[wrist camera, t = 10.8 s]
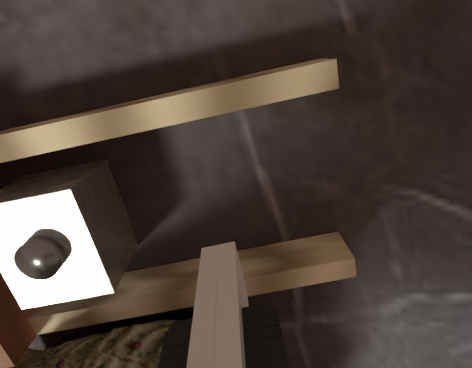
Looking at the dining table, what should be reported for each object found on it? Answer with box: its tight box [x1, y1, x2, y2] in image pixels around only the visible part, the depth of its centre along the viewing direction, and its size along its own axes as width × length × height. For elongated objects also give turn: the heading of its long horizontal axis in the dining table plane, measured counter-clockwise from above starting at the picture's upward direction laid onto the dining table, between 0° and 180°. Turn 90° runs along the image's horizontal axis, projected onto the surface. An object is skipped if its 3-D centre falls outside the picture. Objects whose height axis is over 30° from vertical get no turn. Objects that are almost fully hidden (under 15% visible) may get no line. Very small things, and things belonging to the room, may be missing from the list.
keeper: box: [0, 159, 138, 309], centre depth 21 cm, size 6×7×6 cm
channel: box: [0, 59, 356, 368], centre depth 20 cm, size 25×14×6 cm, turn 102°
